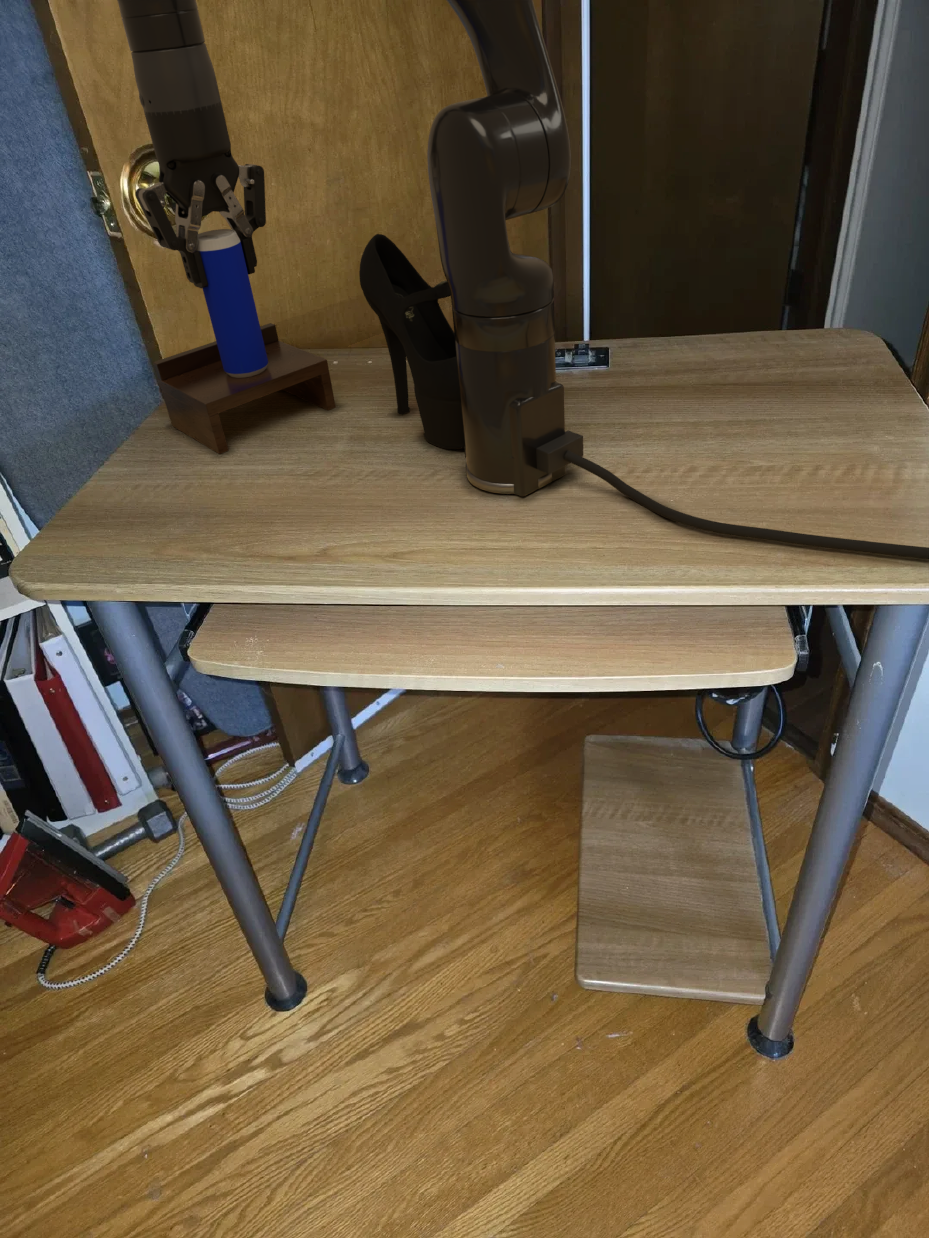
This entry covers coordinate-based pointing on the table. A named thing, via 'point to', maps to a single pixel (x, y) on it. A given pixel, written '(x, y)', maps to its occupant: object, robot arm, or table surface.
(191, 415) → the shelf
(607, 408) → the table surface
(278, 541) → the table surface
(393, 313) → the high-heeled shoe
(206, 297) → the beverage can
